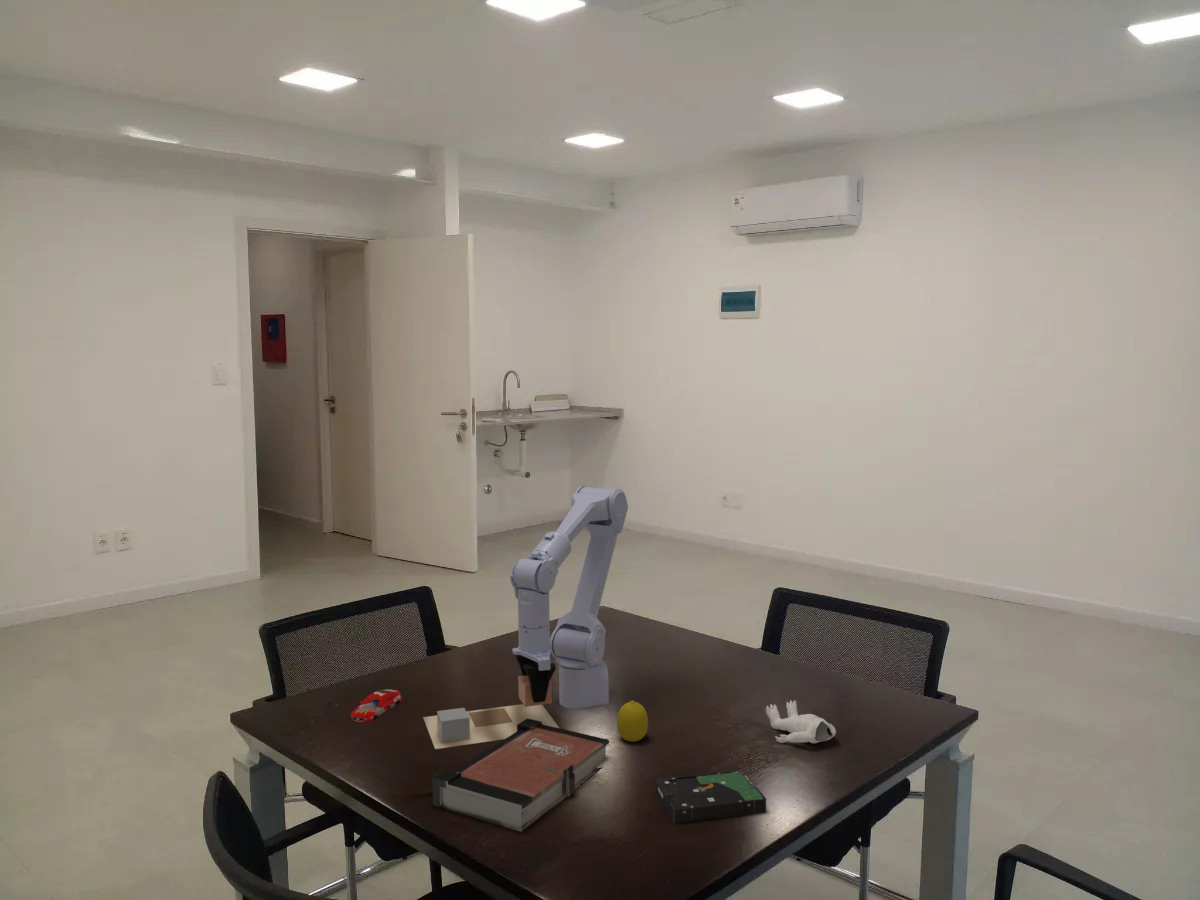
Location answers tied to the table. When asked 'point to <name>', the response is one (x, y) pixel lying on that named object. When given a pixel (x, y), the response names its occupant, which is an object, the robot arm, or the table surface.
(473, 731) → the board
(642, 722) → the lemon
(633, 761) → the table surface
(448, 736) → the grey brick
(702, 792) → the disk drive
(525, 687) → the terracotta brick
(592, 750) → the book
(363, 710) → the race car
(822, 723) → the toy creature
